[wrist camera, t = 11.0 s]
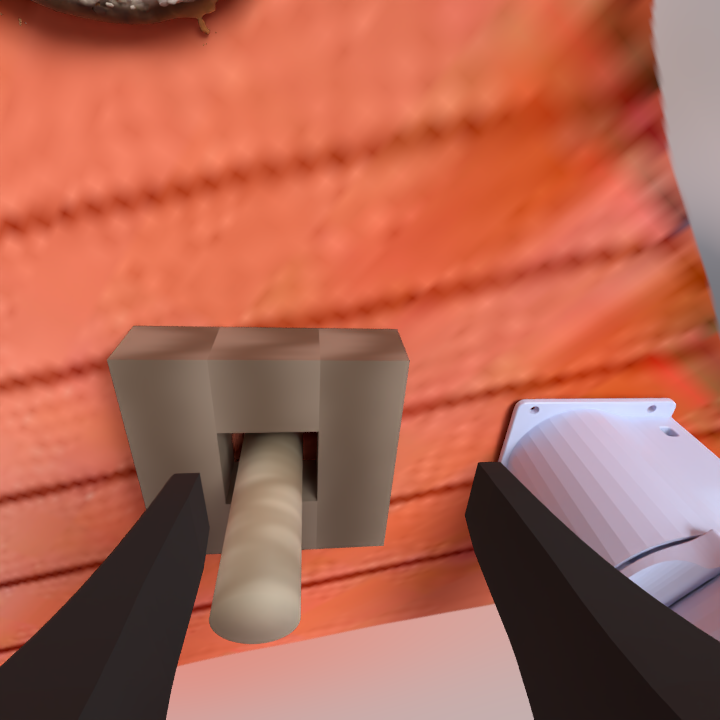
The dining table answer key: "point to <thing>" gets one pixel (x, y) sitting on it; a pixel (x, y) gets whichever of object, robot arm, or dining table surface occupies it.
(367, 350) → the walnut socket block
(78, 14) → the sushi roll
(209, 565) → the dining table surface
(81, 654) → the robot arm
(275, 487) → the beech peg
